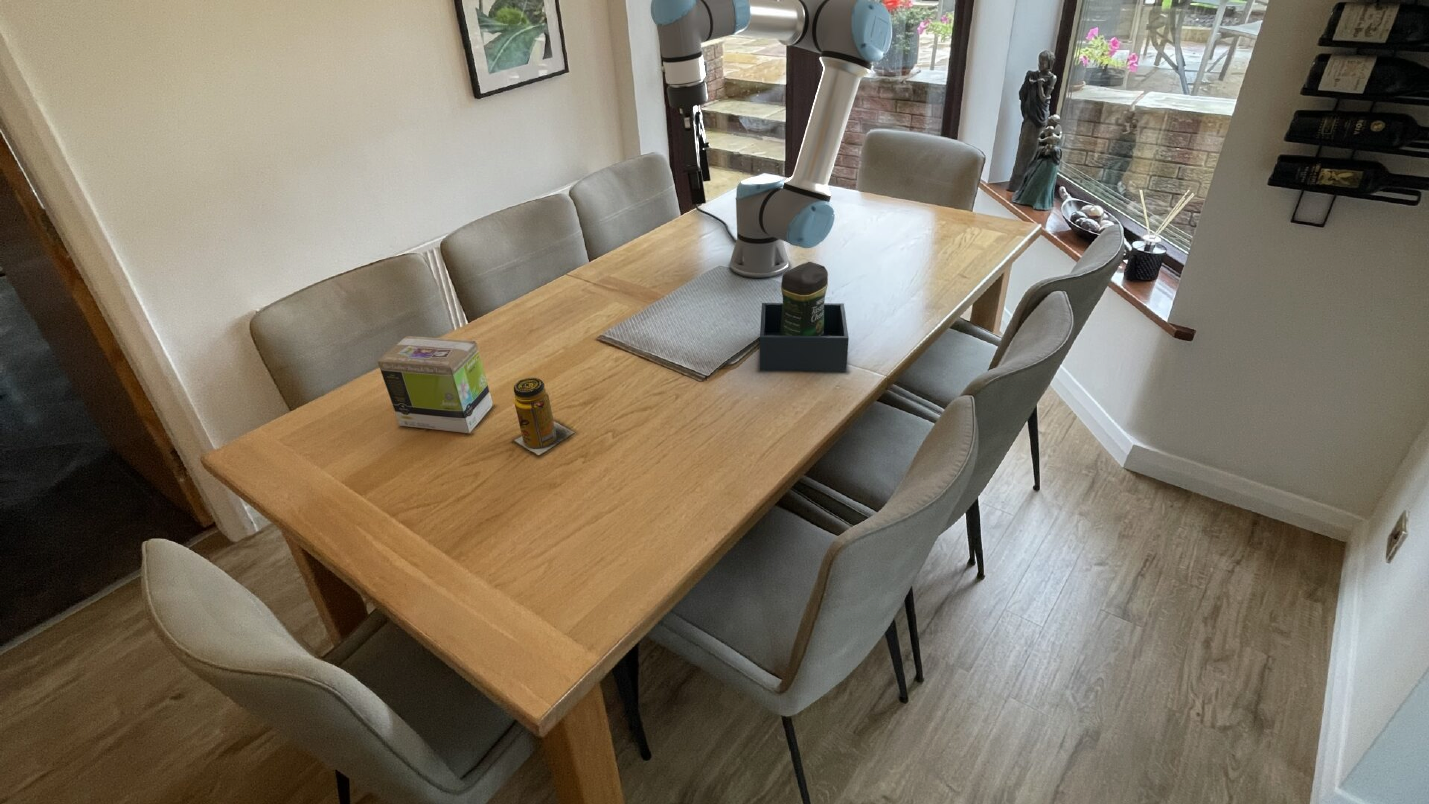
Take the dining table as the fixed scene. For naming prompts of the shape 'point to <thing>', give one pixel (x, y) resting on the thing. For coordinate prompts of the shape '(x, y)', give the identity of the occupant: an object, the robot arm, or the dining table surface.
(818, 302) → the coffee jar
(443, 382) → the tea box
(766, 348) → the open storage box
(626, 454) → the dining table surface
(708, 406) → the dining table surface
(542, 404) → the condiment
